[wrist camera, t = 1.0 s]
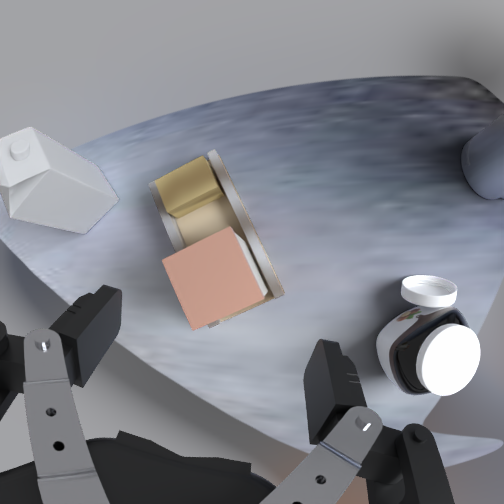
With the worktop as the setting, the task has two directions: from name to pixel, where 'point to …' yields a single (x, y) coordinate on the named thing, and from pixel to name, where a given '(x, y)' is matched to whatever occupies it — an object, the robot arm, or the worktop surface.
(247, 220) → the track
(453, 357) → the spread jar
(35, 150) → the milk carton
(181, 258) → the pink-topped white box
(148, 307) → the worktop surface
